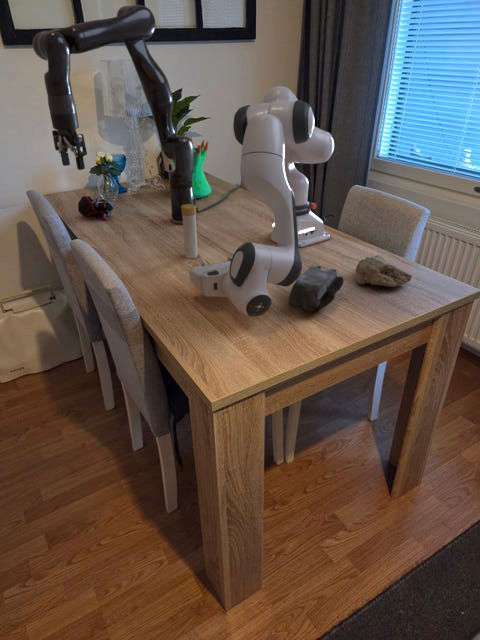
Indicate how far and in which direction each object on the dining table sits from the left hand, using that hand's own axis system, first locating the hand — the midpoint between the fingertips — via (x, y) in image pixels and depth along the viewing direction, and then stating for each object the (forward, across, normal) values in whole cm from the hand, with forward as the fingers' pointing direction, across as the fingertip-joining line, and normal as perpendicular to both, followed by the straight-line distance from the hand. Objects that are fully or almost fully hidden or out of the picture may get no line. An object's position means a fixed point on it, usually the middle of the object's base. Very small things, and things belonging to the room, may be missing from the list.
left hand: (73, 167), depth 141 cm
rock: (+29, -79, -23) cm, 87 cm away
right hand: (+22, -49, -12) cm, 55 cm away
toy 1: (+29, +30, -23) cm, 48 cm away
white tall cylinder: (+29, -29, -22) cm, 46 cm away
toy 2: (+29, +25, -73) cm, 82 cm away
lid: (+12, -29, -22) cm, 38 cm away
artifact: (+29, -86, -47) cm, 102 cm away
